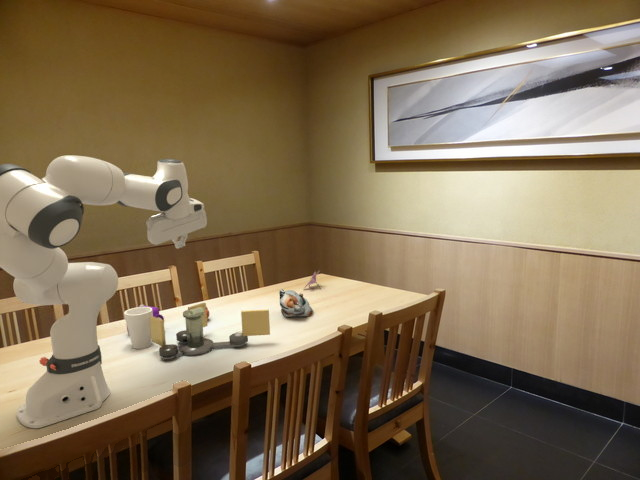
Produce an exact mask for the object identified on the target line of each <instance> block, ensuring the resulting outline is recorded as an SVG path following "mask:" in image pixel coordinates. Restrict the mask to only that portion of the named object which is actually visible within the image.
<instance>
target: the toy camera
mask: <svg viewBox="0 0 640 480" xmlns="http://www.w3.org/2000/svg"><path fill="white" fill-rule="evenodd" d="M138 307H150V308H152V310H153V317H156V318H159V319H161V320H164V321H165V317H164V316H163V315H162V314H160V310H159V308H158V307H156V306H148V305H145V304H140V305H139V306H138ZM125 324H126V325H127V323H126V322H125ZM126 330H127V333H128V334H129V331H128V327H127V326H126Z"/></svg>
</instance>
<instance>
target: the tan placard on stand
mask: <svg viewBox="0 0 640 480" xmlns="http://www.w3.org/2000/svg"><path fill="white" fill-rule="evenodd" d="M240 313H241V315H240V316H241V330H242V331H241V332H235V333H231V334H230V335H229V337H228V338H229V339H228V340H229V341H230V344H233V345H241V344H245V345H246V344H247V343H248V342H249V337H255V336H269V335H271V329H270V328H271V327H270V309H269V308H268V309H253V310H251V309H249V310H248V309H247V310H241V312H240Z"/></svg>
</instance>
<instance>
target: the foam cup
mask: <svg viewBox="0 0 640 480" xmlns="http://www.w3.org/2000/svg"><path fill="white" fill-rule="evenodd" d="M150 307H151V306H150ZM150 307H139V306H137V307H133V308H130V309H127V310H124V312H123V314H124V315H123V316H124V320H125V324H126V323H127V324H126V328H127V327H128V331H129V333H128V335H129V338H130V342H131V345H132V347H131V348H132V349H135V350H141V349H145V348H149V347H150V346H151V345H152V339H151V329H150V318H149V317H152V316H153V310H152V308H150ZM128 331H127V332H128Z"/></svg>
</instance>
